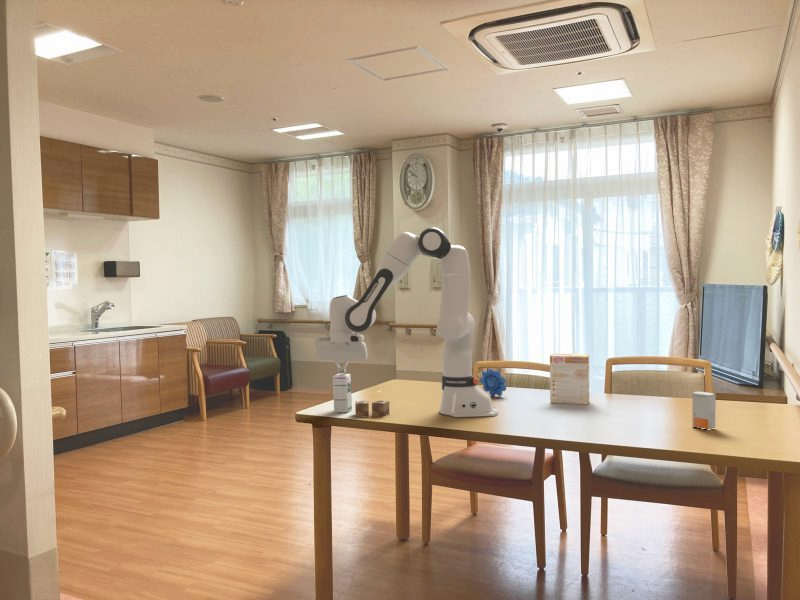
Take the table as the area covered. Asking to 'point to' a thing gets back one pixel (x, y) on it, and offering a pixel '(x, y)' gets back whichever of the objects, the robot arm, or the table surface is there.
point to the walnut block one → (362, 408)
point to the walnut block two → (380, 408)
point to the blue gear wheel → (493, 382)
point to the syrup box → (342, 392)
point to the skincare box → (703, 410)
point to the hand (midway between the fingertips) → (341, 371)
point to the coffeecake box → (569, 378)
